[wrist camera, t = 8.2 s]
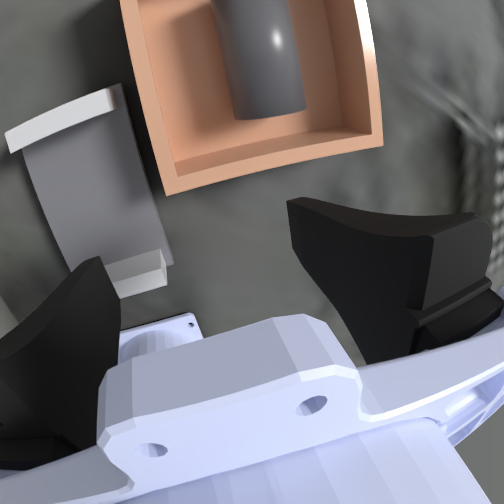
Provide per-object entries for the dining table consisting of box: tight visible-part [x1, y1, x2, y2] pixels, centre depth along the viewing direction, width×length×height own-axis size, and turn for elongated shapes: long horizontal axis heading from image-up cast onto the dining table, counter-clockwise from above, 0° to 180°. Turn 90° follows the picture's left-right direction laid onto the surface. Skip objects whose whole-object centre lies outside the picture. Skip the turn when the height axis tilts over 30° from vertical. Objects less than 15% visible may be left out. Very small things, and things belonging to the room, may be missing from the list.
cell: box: [210, 0, 307, 120], centre depth 14 cm, size 8×4×4 cm, turn 10°
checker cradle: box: [5, 83, 174, 298], centre depth 17 cm, size 12×7×4 cm, turn 10°
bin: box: [120, 0, 383, 196], centre depth 15 cm, size 13×13×4 cm
